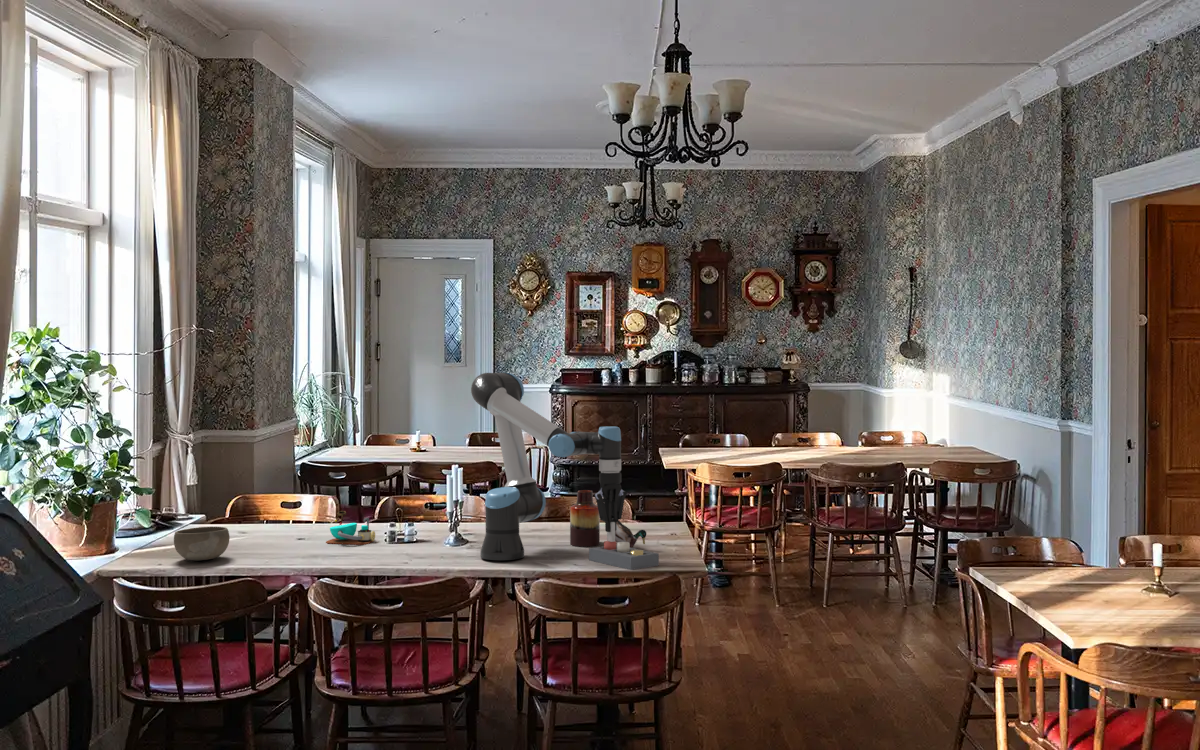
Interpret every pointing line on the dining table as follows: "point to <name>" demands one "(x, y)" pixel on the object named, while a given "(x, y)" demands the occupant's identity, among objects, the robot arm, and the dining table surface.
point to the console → (624, 558)
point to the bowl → (201, 542)
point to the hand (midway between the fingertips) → (611, 541)
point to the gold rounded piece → (636, 552)
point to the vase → (584, 521)
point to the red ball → (609, 545)
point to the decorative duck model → (628, 534)
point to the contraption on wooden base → (351, 533)
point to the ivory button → (623, 547)
